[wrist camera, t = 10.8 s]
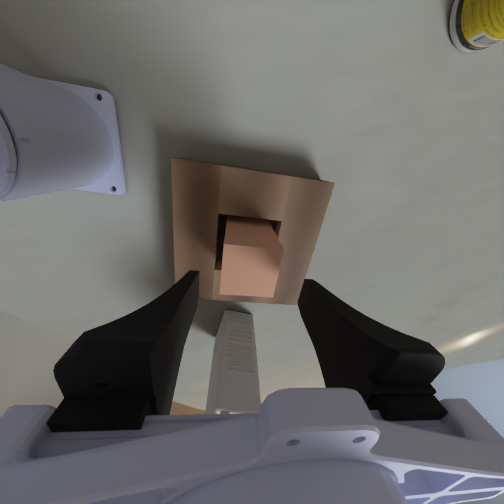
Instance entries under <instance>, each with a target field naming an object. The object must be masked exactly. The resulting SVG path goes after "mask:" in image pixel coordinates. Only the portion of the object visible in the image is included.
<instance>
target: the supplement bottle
mask: <svg viewBox="0 0 504 504" xmlns="http://www.w3.org/2000/svg"><path fill="white" fill-rule="evenodd" d="M450 35H451V39H452V41H453V44H454V45H455V46H456V48H458V49H459V50H461V51H463V52H476V51H479V50H482V49H485V48H487V47H489V46H491V45H494V44H496V43H498V42H500V41H503V40H504V0H455V1H454V4H453V7H452V10H451V15H450Z"/></svg>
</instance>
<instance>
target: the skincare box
mask: <svg viewBox="0 0 504 504" xmlns="http://www.w3.org/2000/svg"><path fill="white" fill-rule="evenodd" d="M260 406H261V401H260V390H259V377H258V365H257V355H256V344H255V333H254V322H253V315H251V314H247V313H242V312H237V311H230V310H225V311H224V314H223V317H222V320H221V323H220V326H219V329H218V332H217V335H216V338H215V343H214V351H213V359H212V366H211V374H210V382H209V390H208V398H207V405H206V413H205V414H236V413H259V410H260Z"/></svg>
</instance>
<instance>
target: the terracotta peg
mask: <svg viewBox="0 0 504 504" xmlns="http://www.w3.org/2000/svg"><path fill="white" fill-rule="evenodd" d="M283 254H284V248H283V247H282V245H281V243H280V241H279V239H278V237H277V235H276V234H275V232H274V230H273V228H272V226H271V224H270V223H269V221H268V219H260V218H252V217H243V216H235V215H228V216H227V223H226V231H225V239H224V248H223V259H222V271H221V282H220V294H224V295H240V296H256V297H272V298H273V295H274V291H275V287H276V283H277V279H278V275H279V270H280V266H281V262H282V258H283Z"/></svg>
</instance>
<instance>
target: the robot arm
mask: <svg viewBox="0 0 504 504" xmlns="http://www.w3.org/2000/svg"><path fill="white" fill-rule="evenodd" d="M99 94H101V96H102V100H101V101H99V99H98V95H99ZM113 186H114V187H115V188H116V191H114V190H113ZM67 189H75V190H84V191H92V192H100V193H108V194H116V195H123V194H125V193H126V182H125V175H124V167H123V160H122V152H121V145H120V137H119V129H118V122H117V114H116V107H115V100H114V97H113V95H112V94H111V93H109V92H108V91H105V90H101V89H95V88H90V87H85V86H80V85H74V84H69V83H64V82H59V81H53V80H48V79H43V78H38V77H32V76H30V75H27V74H25V73H22V72H20V71H17V70H15V69H12V68H10V67H7V66H5V65H2V64H0V202H1V201H7V200H12V199H18V198H23V197H29V196H34V195H40V194H45V193H51V192H56V191H61V190H67ZM199 274H200V271H196V270H189V271H188V272H187V273H186V274H185V275H184V276H183V277H182V278H181V279H180V280H179V281H178V282H177V283H175V284H174V285H173V286H172V287H171V288H170V289H168V290H167V291H166V292H164V293H163V294H162V295H161V296H159V297H158V298H156V299H155V300H153V301H152V302H150V303H149V304H147V305H145V306H143V307H141V308H140V309H138V310H136V311H134V312H132V313H130V314H128V315H126V316H124V317H122V318H119V319H117V320H115V321H112V322H110V323H107V324H105V325H102V326H99V327H97V328H94V329H91V330H88V331H85V332H84V333H83V334H82V335H81V336H80V337H79V338H78V339H77V340H76V341H75V342H74V343H73V344H72V346H71V347H70V348H69V349H68V350H67V352H66V353H65V354H64V355H63V356H62V357H61V359H60V360H59V361H58V362H57V363H56V364H55V367H54V370H53V371H54V376H55V379H56V381H57V383H58V385H59V387H60V390H61V391H62V394H63V396H64V399H63V401H62V402H61V403H60V405H59V406H58V408H57V409H56V408H55V407H53V406H50V405H49V406H48V405H14V406H11V407H9V408H8V409H7V410H6V411H5V413H4V414H3V415H2V416H1V417H0V504H454V503H460V502H466V501H473V500H482V499H489V498H493V497H495V496H497V495H499V494H501V493H503V492H504V438H503V437H502V436H501V435H500V434H499V433H498V432H497V431H496V430H495V429H494V428H493V427H492V426H491V425H490V424H489V423H488V422H487V421H486V420H485V419H484V418H483V416H482V415H481V414H480V413H479V412H478V411H477V410H476V409H475V408H474V407H473V406H472V405H471V404H470V403H469V402H468V401H467V400H466V399H443V400H441V401H438V400H437V398H436V397H435V396H434V395H433V394H435V393H436V390H435V389H434V388H433V387H432V385H431V384H430V383H431V382H432V381H433V380H434V379H435V378H436V377H437V375H438V374H439V373H440V372H441V371H442V369H443V368H444V365H445V358H444V357H443V355H442V354H441V353H440V352H438V351H437V350H436V349H435V348H434V347H433V346H432V345H431V344H430V343H428V342H425V341H423V340H420V339H417V338H414V337H412V336H409V335H406V334H404V333H401V332H399V331H397V330H394V329H392V328H390V327H387V326H385V325H383V324H381V323H379V322H377V321H375V320H373V319H371V318H369V317H367V316H366V315H364V314H362V313H361V312H359V311H357V310H355V309H354V308H352V307H351V306H349V305H348V304H346V303H345V302H343V301H342V300H340V299H339V298H338V297H336V296H335V295H334V294H332V293H331V292H329V291H328V290H327V289H326V288H324V287H323V286H322V285H320V284H319V283H317V282H316V281H314V280H313V279H304V282H303V285H302V288H301V292H300V295H299V298H298V301H297V302H298V307H299V310H300V314H301V317H302V319H303V322H304V324H305V326H306V329H307V331H308V333H309V336H310V338H311V340H312V343H313V345H314V348H315V351H316V354H317V357H318V361H319V364H320V367H321V371H322V374H323V378H324V382H325V386H326V388H288V389H282V390H277V391H275V392H273V393H271V394H269V395H268V396H267V397H266V399H265V400H264V401H263V403H262V404H261V406H260V410H259V413H236V414H194V415H170V409H171V404H172V400H173V395H174V390H175V385H176V380H177V376H178V371H179V366H180V362H181V358H182V353H183V349H184V345H185V341H186V338H187V335H188V332H189V329H190V326H191V323H192V320H193V317H194V314H195V311H196V308H197V303H198V298H199Z"/></svg>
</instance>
